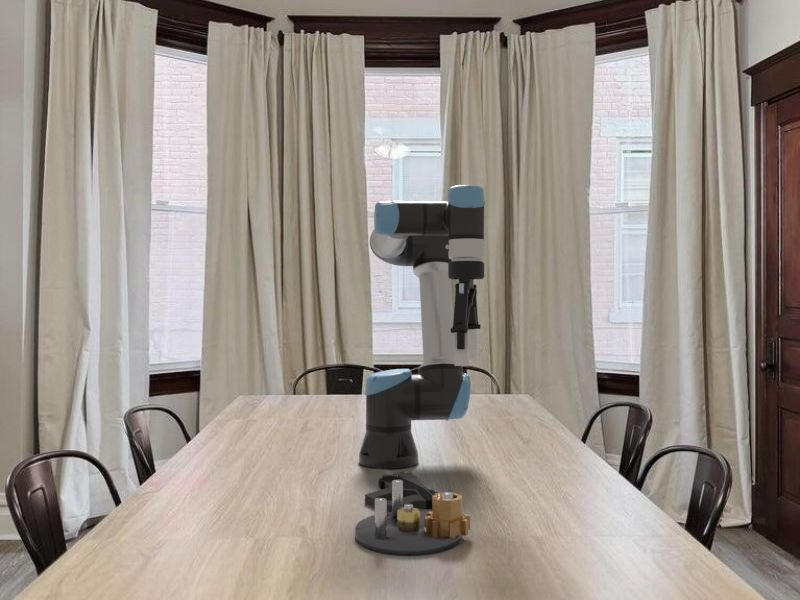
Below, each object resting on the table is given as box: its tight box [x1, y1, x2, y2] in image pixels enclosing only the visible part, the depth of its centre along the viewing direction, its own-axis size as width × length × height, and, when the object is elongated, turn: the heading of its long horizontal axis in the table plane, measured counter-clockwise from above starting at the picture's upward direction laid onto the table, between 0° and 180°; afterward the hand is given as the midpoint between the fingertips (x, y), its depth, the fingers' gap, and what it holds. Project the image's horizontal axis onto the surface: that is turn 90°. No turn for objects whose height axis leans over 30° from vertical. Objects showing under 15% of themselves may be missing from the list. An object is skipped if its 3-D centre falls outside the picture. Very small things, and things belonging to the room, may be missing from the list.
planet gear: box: [425, 491, 471, 538], centre depth 124 cm, size 8×8×6 cm
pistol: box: [364, 471, 438, 512], centre depth 151 cm, size 2×26×15 cm
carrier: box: [354, 480, 463, 557], centre depth 126 cm, size 19×19×8 cm
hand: (466, 362), depth 147 cm, fingers open, 13 cm apart
